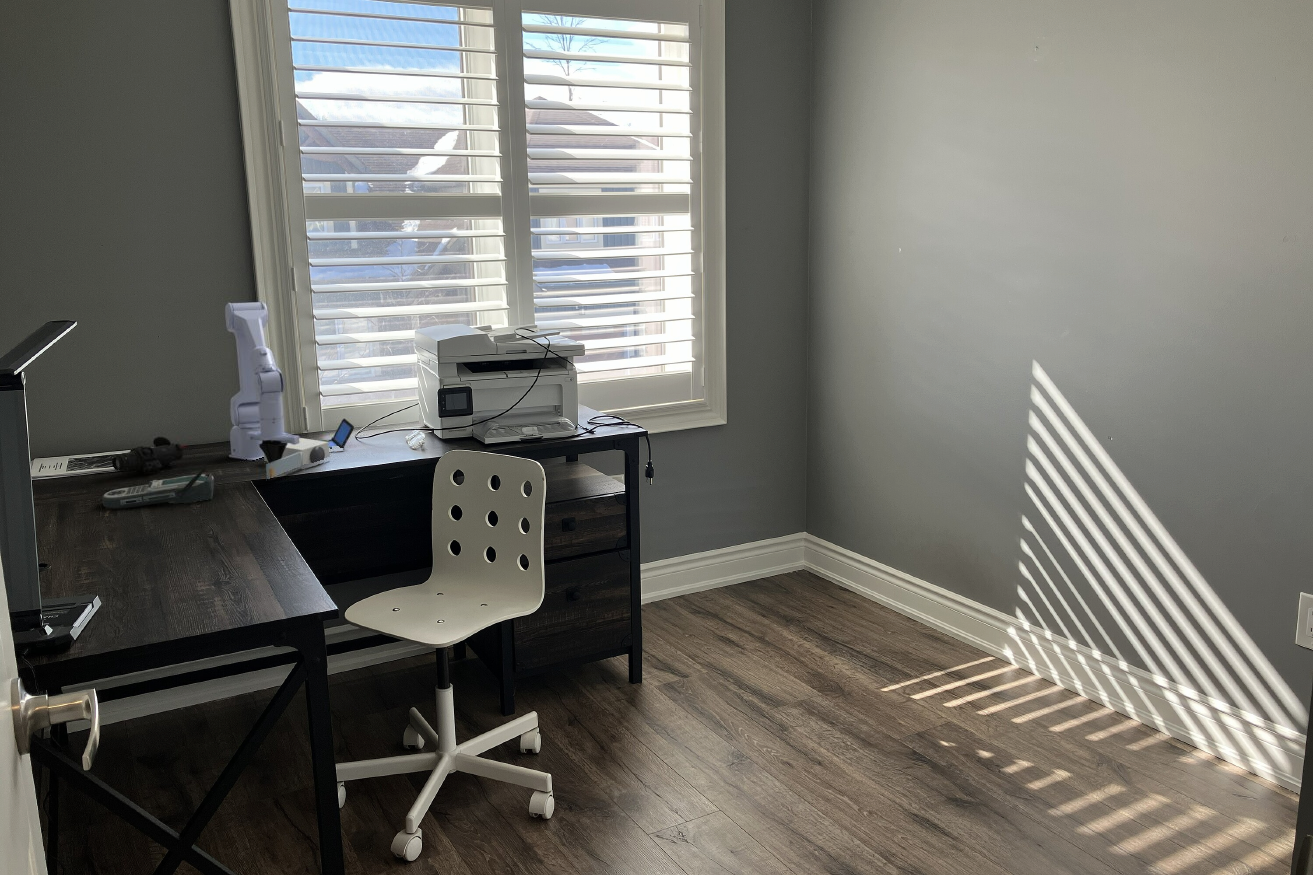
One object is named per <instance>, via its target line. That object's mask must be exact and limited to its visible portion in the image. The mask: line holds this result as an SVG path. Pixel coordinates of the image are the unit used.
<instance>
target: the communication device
mask: <svg viewBox="0 0 1313 875" xmlns="http://www.w3.org/2000/svg"><path fill="white" fill-rule="evenodd" d="M206 470H207V468H205V467H203V468H202V469H201V470H200V471H199V472H198V473H197V474H192V475H184V476H183V475H182V476H180V477H173V478H167V479H160V480H157V479H153V480H151V481H149V482H148V484H142V485H137V486H131V487H124V488H118V489H113V490H110V491H108V492H105V493H104V494H103V495H102V497H101V500H102V504H103V507H105V508H106V509H113V510H115V509H116V510H117V509H128V508H135V507H142V506H148V505H156V504H162V503H169V504H171V503H184V504H188V503H187V502H193V503H195V502H194V501H200V500H207V499H211V500H212V499H213V496H214V489H215V488H214V486H215V478H214V476H213V475H212V474H211V473H207V474H204V473H205V471H206ZM207 501H208V500H207ZM200 502H201V501H200Z"/></svg>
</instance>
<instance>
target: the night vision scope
mask: <svg viewBox="0 0 1313 875" xmlns="http://www.w3.org/2000/svg"><path fill="white" fill-rule="evenodd" d="M152 444H153V445H154V446H153V447H152V446H143V445H141V446H137V447H132V448H131V449H130V450H129V451H128V452H122V453H120V454H117V455H116V456H115V457H114V456H113V457H112V458H111V465H112V467H113V469H114V470H115V471H119V472H123V471H124V472H128V471H135V472H134V473H135V474H137V473H138V472H143V473H144V475H146V476H149V475H154V474H158V473H160V472H161V470H160V469H162V468H163V467H168V466H170V464H171V463H172V462H175V461H181V460H182V459H183V456H184V452H183V450H185V449H187V447H185V446H184V445H183V444H180V443H179V442H177V443H174V442H173V443H172V442H171V441H170V440H169V439H168V438H167V437H165V436H157V437H155V438H153V442H152Z"/></svg>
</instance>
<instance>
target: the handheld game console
mask: <svg viewBox="0 0 1313 875" xmlns="http://www.w3.org/2000/svg"><path fill="white" fill-rule="evenodd" d="M354 429H355V426H354V425H353V424H352V423H351V422H349V421H348V420H347V419H346V418H342V420H341V422H340V424H339V425H338V427H337V429H336V431H335V433H334V435H333V437H331V439H323V440H321V441H324V442H329V448H330V449H332V446H339V447H340V448H344V449H345V446H346V444H347V443H348V440H349V438H350V437H351V435H352V433H353V431H354Z"/></svg>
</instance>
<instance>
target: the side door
mask: <svg viewBox="0 0 1313 875" xmlns="http://www.w3.org/2000/svg"><path fill="white" fill-rule="evenodd" d="M300 466H303V461H302V452H297V453H295V454H292V455H289V456H287V457H284V458H282V459H279V460H276V461H274V462H271V463H268V464H265V469H266V470H265V472H266V480H267V479H270V478H273V477H274V476H277V475H279V474H282V473H284V472H287V471H290V470H292V469H294V468H297V467H300Z"/></svg>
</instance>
